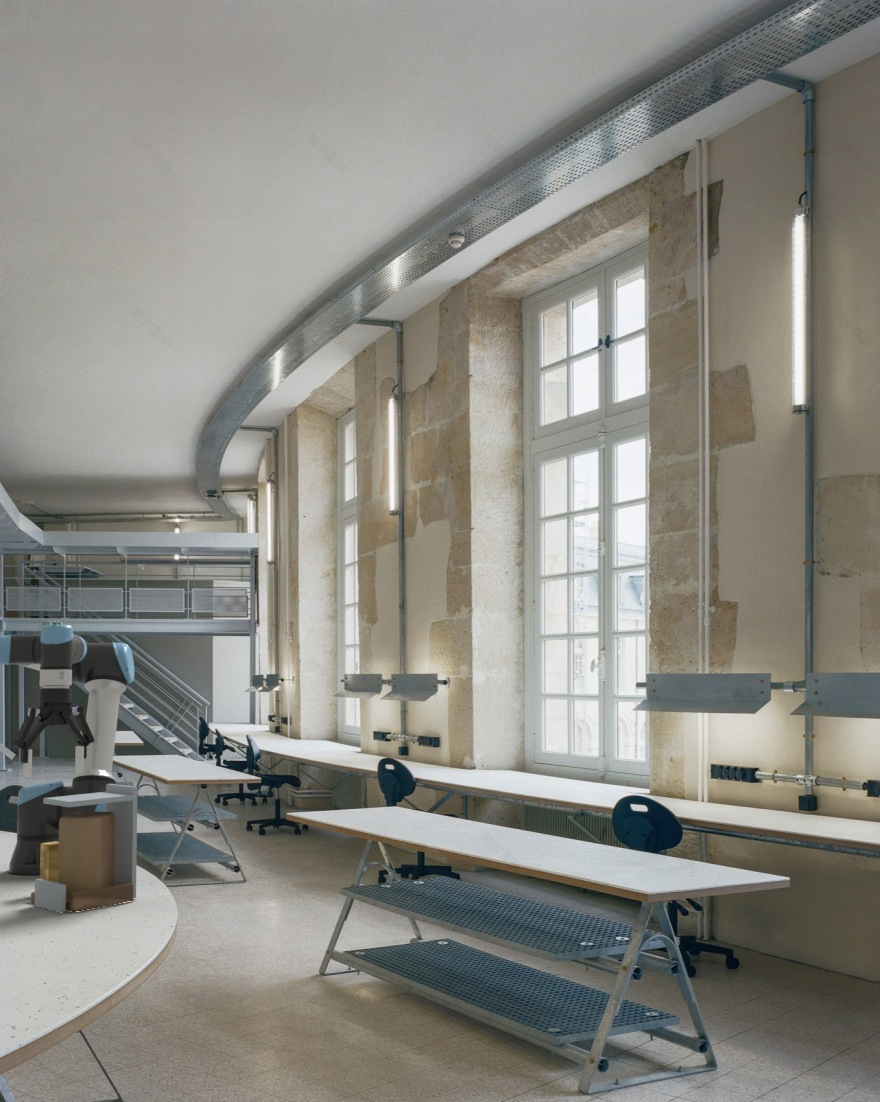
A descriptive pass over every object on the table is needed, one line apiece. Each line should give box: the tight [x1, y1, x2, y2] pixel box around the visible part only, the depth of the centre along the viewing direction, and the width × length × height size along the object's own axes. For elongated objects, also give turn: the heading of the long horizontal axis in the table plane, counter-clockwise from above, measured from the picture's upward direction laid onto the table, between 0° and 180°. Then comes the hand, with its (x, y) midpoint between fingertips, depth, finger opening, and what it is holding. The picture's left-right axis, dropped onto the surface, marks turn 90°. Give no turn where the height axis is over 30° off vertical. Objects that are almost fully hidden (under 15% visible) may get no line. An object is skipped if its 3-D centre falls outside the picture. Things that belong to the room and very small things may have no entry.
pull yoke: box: [30, 842, 134, 913], centre depth 261 cm, size 26×15×12 cm, turn 47°
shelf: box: [34, 783, 138, 913], centre depth 258 cm, size 12×19×26 cm, turn 138°
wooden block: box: [58, 812, 115, 901], centre depth 258 cm, size 10×10×20 cm
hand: (53, 774), depth 270 cm, fingers open, 13 cm apart
